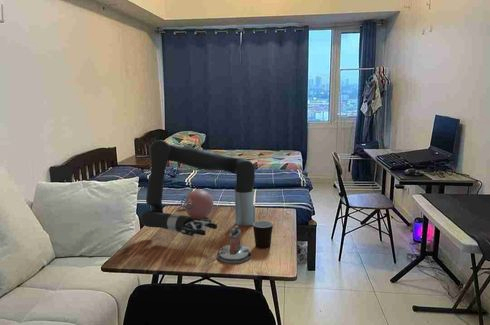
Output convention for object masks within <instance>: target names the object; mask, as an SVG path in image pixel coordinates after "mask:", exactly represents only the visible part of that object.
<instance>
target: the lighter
mask: <svg viewBox="0 0 490 325" xmlns="http://www.w3.org/2000/svg"><path fill="white" fill-rule="evenodd" d="M241 233H242V231H241V229H240V227H239V225H235V226H233V227H232V229H231V230H230V233H229V245H230V254H232V255H234V254H236V253H238V252H239V251H240V249H241V245H242V244H241Z"/></svg>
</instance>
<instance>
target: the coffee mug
mask: <svg viewBox="0 0 490 325" xmlns="http://www.w3.org/2000/svg"><path fill="white" fill-rule="evenodd" d="M252 227H253V229H252V230H253V235H254V244H255V248H256V249H259V250H266V249H267V248H268V249H270V248H271V245H272V244H271V243H272V234H273V227H274V223H273V222H271V221H268V220H257V221H255V222H254V223H253V224H252ZM269 247H270V248H269ZM268 249H267V250H268Z"/></svg>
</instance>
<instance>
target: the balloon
mask: <svg viewBox="0 0 490 325" xmlns="http://www.w3.org/2000/svg"><path fill="white" fill-rule="evenodd" d="M184 200H185V201H183V202H184V203H183V204H184V205H183V204H182V205H183V206H182V205H181V206H182V208H183V209H184V211H185V212H186V214H187V216H189V217H191V218H192V219H196V220H197V219H198V220H199V219H205V218H206V217H207V216H209V215H210V214H211V213H212V211H213V208H214V200H213V197H212V195H211V194H210V193H209V192H207V191H206V190H203V189H194V190H192V191H190V192H189V193H188V194H187V195H186V198H184Z"/></svg>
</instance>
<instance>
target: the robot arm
mask: <svg viewBox="0 0 490 325" xmlns="http://www.w3.org/2000/svg"><path fill="white" fill-rule="evenodd" d="M148 154H149V156H150V157H151V158H150V159H151V160H150V161H151V162H150V163H151V165H150V166H151V168H150V175H149V178H148V183H147V190H146V199H145V201H146V205H149V206H150V209H151V210H146V211H143V212H142V213H141V215H140V223H141V224H142V225H143V226H145V227H148V228H149V227H150V228H161V229H165V230H169V231H172V232H175V233H181V235H186V236H190V237H193V236H195V235H196V236H197V235H199V236H206V233H207V232H206V229H208V228H209V229H213V230H217V229H218V225H217V223H214V222H212V220H211V219H206V218H201V219H198V220H197V219H196V220H194V218H193V217H191V216H190V215H184V214H179V213H177V214H175V213H174V214H173V213H168V212H164V210H163V209H164V208H163V204H162V201H163V190H164V183H165V182H164V180H165V173H166V167H167V163H168V161H169V162H175V163H179V164H182V165H184V166H187V167H192V168H195V169H199V170H205V171H224V172H228V173H230V174H233V175H236V183H235V185H234V206H235V207H234V209H235V211H234V215H235V217H234V218H235V219H234V220H235V226H241V227H248V226H253V223H254V222H256V206H255V204H254V187H255V175H256V174H255V165H254V164H253V163H252V161H250V160H248V159H246V158H243V157H232V156H226V155H222V154H220V153H216V152H214V151H210V150H205V149H200V148H195V147H181V146H178V145H177V146H176V145H173V144H170V143H168V142H167V141H165V140H163V139H159V140H158V139H157V140H154V141H152V142H151V143H150V144H149V146H148ZM205 228H206V229H205Z"/></svg>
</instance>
